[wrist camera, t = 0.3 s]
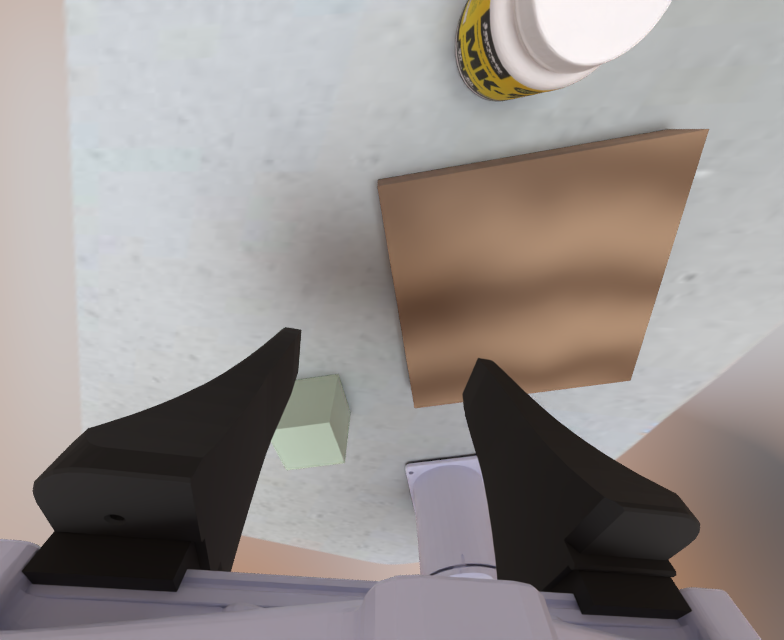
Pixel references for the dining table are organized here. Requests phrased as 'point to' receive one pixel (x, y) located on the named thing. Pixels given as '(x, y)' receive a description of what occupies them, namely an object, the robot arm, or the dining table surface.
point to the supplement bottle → (545, 41)
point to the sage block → (313, 424)
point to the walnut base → (535, 261)
